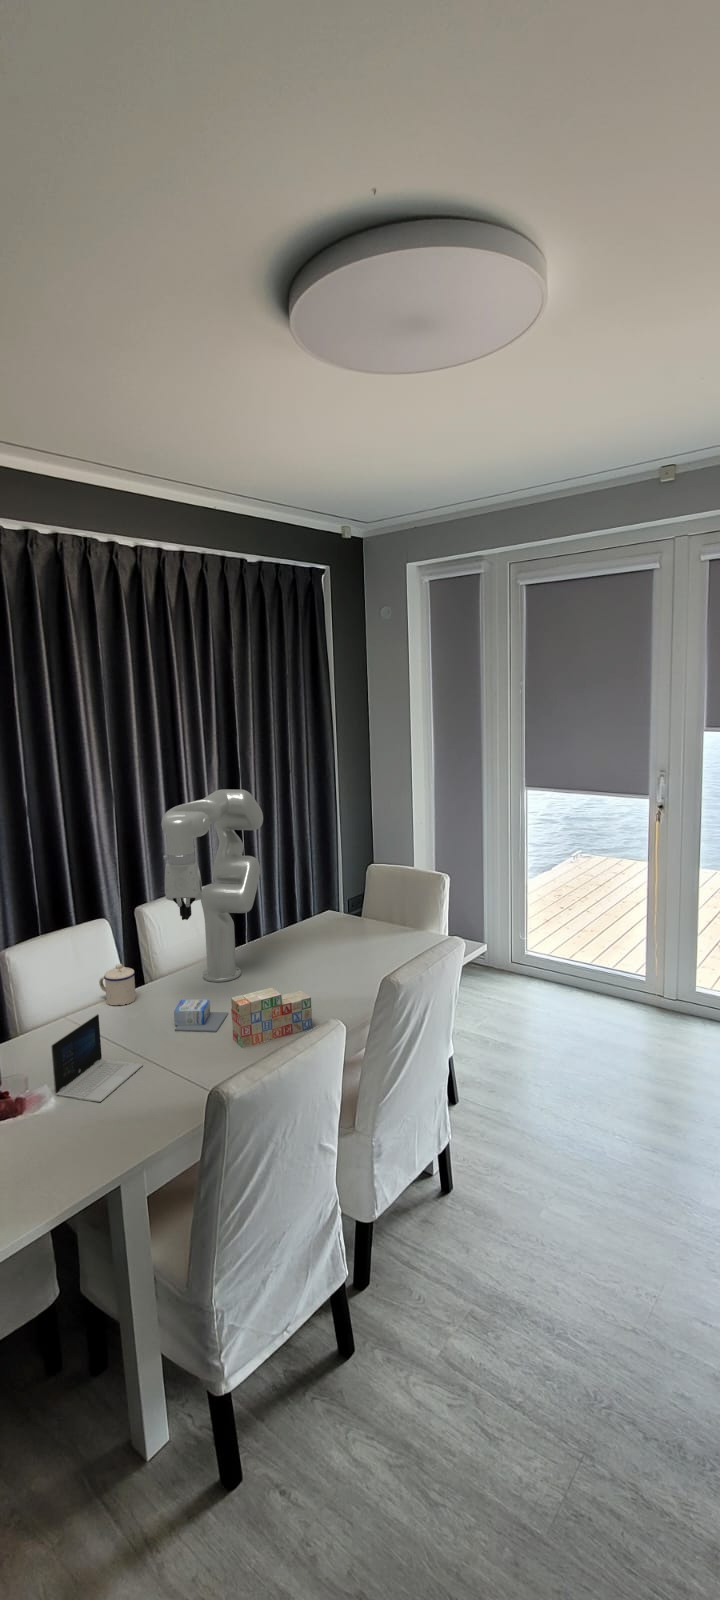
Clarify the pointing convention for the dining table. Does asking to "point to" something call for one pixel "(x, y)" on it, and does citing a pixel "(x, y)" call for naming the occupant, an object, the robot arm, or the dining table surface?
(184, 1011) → the medicine box
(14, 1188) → the dining table surface
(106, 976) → the teacup with lid
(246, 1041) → the stack of blocks
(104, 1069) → the laptop
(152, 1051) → the dining table surface
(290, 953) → the dining table surface
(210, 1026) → the mat
